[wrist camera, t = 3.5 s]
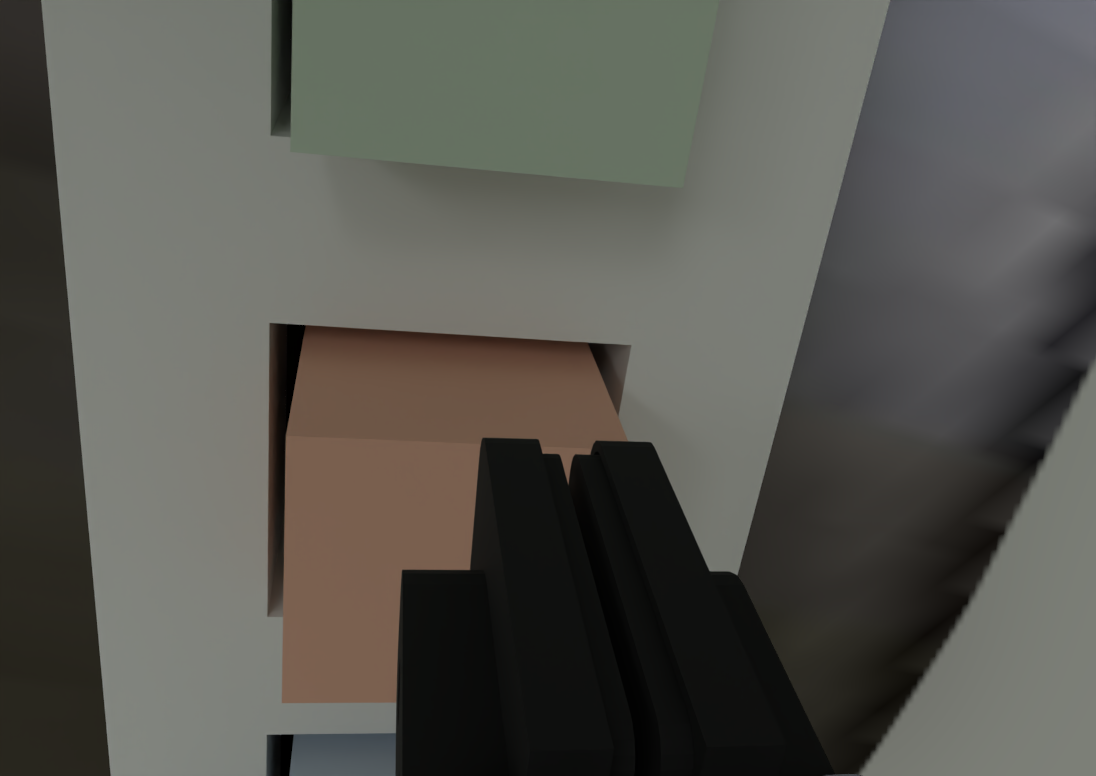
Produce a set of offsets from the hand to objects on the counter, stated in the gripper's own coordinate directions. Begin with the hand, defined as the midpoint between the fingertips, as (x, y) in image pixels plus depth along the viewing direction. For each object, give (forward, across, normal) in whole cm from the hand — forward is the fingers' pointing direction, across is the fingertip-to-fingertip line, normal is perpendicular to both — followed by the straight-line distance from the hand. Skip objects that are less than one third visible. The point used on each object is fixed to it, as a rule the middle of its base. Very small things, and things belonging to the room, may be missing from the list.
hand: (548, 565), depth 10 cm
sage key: (+8, 0, -5) cm, 10 cm away
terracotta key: (+9, +1, +4) cm, 9 cm away
